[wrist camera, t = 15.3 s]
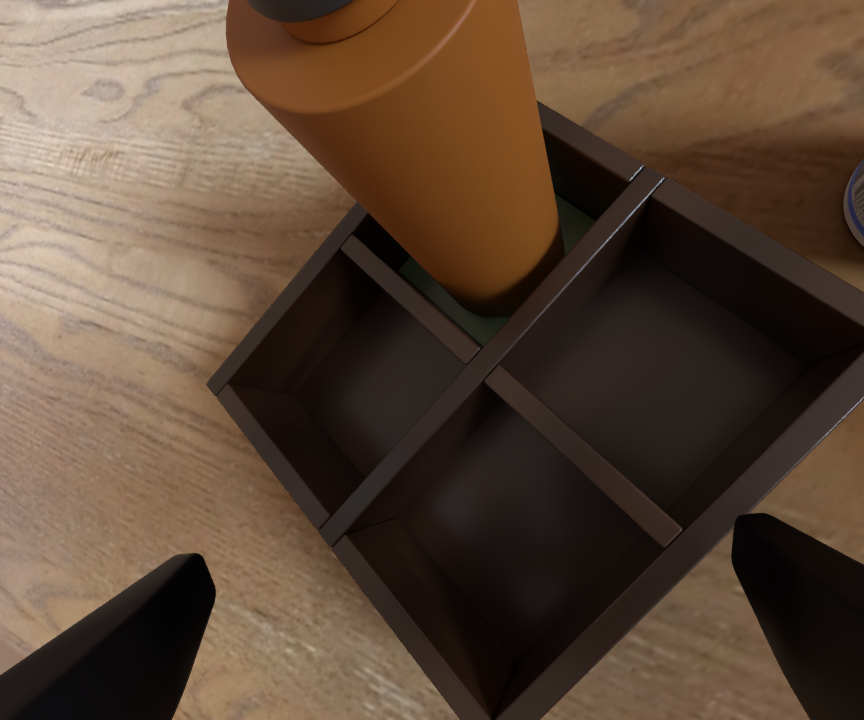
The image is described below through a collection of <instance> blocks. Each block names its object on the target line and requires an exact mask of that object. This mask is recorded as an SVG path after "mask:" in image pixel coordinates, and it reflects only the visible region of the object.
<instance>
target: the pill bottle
mask: <svg viewBox="0 0 864 720" xmlns="http://www.w3.org/2000/svg"><path fill="white" fill-rule="evenodd" d="M843 207H844V216H845V219H846V222H847V224H848V226H849V228H850V230H851V232H852V234H853V235H854V237H855V238H856V239H857V240H858V242H859V243H860V244H861V245H862V246H863V247H864V159H863V160H862V161H861V163H860V164H859V165H858V167H857V168H856V169H855V171H854V172H853V174H852V176H851V178H850V180H849V182H848V185H847V188H846V191H845V195H844V204H843Z"/></svg>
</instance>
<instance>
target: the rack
mask: <svg viewBox="0 0 864 720" xmlns="http://www.w3.org/2000/svg"><path fill="white" fill-rule="evenodd" d="M536 101H537V100H536ZM537 106H538V112H539V117H540V122H541V127H542V132H543V138H544V143H545V148H546V153H547V158H548V163H549V169H550V174H551V179H552V184H553V189H554V195H555V200H556V205H557V210H558V215H559V221H560V226H561V231H562V236H563V242H564V258H563V259H562V260H561V261H560V262H559V263H558V264H557V265H556V266H555V268H554V269H553V270H552V271H551V272H550V273H549V274H548V275H547V277H546V278H545V279H544V280H543V281H542V282H541V283H540V284H539V285H538V287H537V288H536V289H535V290H534V291H533V292H532V293H531V294H530V295H529V297H528V298H527V299H526V300H525V301H524V302H523V303H522V304H521V306H520V307H519V308H518V309H517V310H516V311H515V312H514V313H513V314H512V316H507V317H496V318H494V317H485V316H481V315H477V314H475V313H472V312H470V311H468V310H466V309H465V308H463V307H462V306H461V305H459V304H458V303H457V302H456V301H455V300H454V299H453V298H452V297H451V296H450V295H449V294H448V293H447V292H446V291H445V290H444V289H443V288H442V287H441V286H440V284H439V283H438V282H437V281H436V280H435V279H434V278H433V277H432V276H431V275H430V274H429V273H428V272H427V271H426V270H425V269H424V268H423V267H422V266H421V265H420V264H419V263H418V262H417V261H416V260H415V259H414V258H413V257H412V256H411V255H410V254H409V253H408V252H407V251H406V250H405V249H404V248H403V247H402V246H401V245H400V244H399V243H398V242H397V241H396V240H395V239H394V238H393V237H392V236H391V235H390V234H389V233H388V232H387V231H386V230H385V229H384V228H383V227H382V226H381V225H380V224H379V223H378V222H377V221H376V220H375V219H374V218H373V217H372V216H371V215H370V214H369V213H368V212H367V211H366V210H365V209H364V208H363V207H362V206H361V205H360V204H359V203H358V202H356V204H355V205H354V206H353V207H352V209H351V210H350V211H349V212H348V213H347V215H346V216H345V217H344V218H343V219H342V221H341V222H340V223H339V224H338V225H337V227H336V228H335V229H334V230H333V231H332V233H331V234H330V235H329V236H328V237H327V239H326V240H325V241H324V242H323V243H322V245H321V246H320V247H319V248H318V250H317V251H316V252H315V253H314V254H313V256H312V257H311V258H310V259H309V260H308V262H307V263H306V264H305V265H304V266H303V268H302V269H301V270H300V271H299V272H298V274H297V275H296V276H295V277H294V278H293V280H292V281H291V282H290V283H289V284H288V286H287V287H286V288H285V289H284V290H283V292H282V293H281V294H280V295H279V297H278V298H277V299H276V300H275V301H274V303H273V304H272V305H271V306H270V307H269V309H268V310H267V311H266V312H265V313H264V315H263V316H262V317H261V318H260V319H259V321H258V322H257V323H256V324H255V325H254V327H253V328H252V329H251V330H250V331H249V333H248V334H247V335H246V336H245V337H244V339H243V340H242V341H241V342H240V344H239V345H238V346H237V347H236V348H235V350H234V351H233V352H232V353H231V354H230V356H229V357H228V358H227V359H226V360H225V362H224V363H223V364H222V365H221V366H220V368H219V369H218V370H217V371H216V372H215V374H214V375H213V376H212V377H211V378H210V380H209V381H208V382H207V383H206V385H207V386H208V388H209V389H210V390H211V392H212V393H213V394H214V395H215V396H217V399H218V400H219V402H220V403H221V404H222V406H223V407H224V408H225V409H226V411H227V412H228V413H229V415H230V416H231V417H232V419H233V420H234V421H235V423H236V424H237V425H238V427H239V428H240V429H241V431H242V432H243V433H244V435H245V436H246V437H247V439H248V440H249V441H250V442H251V444H252V445H253V446H254V448H255V449H256V450H257V452H258V453H259V454H260V456H261V457H262V458H263V460H264V461H265V462H266V464H267V465H268V466H269V468H270V469H271V470H272V472H273V473H274V474H275V476H276V477H277V478H278V479H279V481H280V482H281V483H282V485H283V486H284V487H285V489H286V490H287V491H288V493H289V494H290V495H291V497H292V498H293V499H294V501H295V502H296V503H297V505H298V506H299V507H300V509H301V510H302V511H303V513H304V514H305V515H306V516H307V518H308V519H309V520H310V522H311V523H312V524H313V526H314V527H315V528H316V529H317V530H319V534H320V535H321V536H322V538H323V539H324V540H325V542H326V543H327V544H328V546H329V547H331V548H332V547H333V548H332V551H333V552H334V554H335V555H336V556H337V558H338V559H339V560H340V562H341V563H342V564H343V566H344V567H345V568H346V570H347V571H348V572H349V573H350V575H351V576H352V577H353V579H354V580H355V581H356V583H357V584H358V585H359V587H360V588H361V589H362V591H363V592H364V593H365V595H366V596H367V597H368V599H369V600H370V601H371V603H372V604H373V605H374V606H375V608H376V609H377V610H378V612H379V613H380V614H381V616H382V617H383V618H384V620H385V621H386V622H387V624H388V625H389V626H390V628H391V629H392V630H393V632H394V633H395V634H396V636H397V637H398V638H399V640H400V641H401V642H402V643H403V645H404V646H405V647H406V649H407V650H408V651H409V653H410V654H411V655H412V657H413V658H414V659H415V661H416V662H417V663H418V665H419V666H420V667H421V669H422V670H423V671H424V673H425V674H426V675H427V677H428V678H429V679H430V680H431V682H432V683H433V684H434V686H435V687H436V688H437V690H438V691H439V692H440V694H441V695H442V696H443V698H444V699H445V700H446V702H447V703H448V704H449V706H450V707H451V708H452V710H453V711H454V712H455V714H456V715H457V716H458V717H459V719H460V720H540V719H541V718H542V717H543V716H544V715H545V714H546V713H547V712H548V711H549V710H550V709H551V708H552V707H553V706H554V705H555V704H556V703H557V702H558V701H559V700H560V699H561V698H562V697H563V696H564V695H565V694H566V693H567V692H568V691H569V690H570V689H571V688H572V687H574V686H575V685H576V684H577V683H578V682H579V681H580V680H581V679H582V678H583V677H584V676H585V675H586V674H587V673H588V672H589V671H590V670H591V669H592V668H593V667H594V666H595V665H596V664H597V663H598V662H599V661H600V660H601V659H602V658H603V657H604V656H605V655H606V654H607V653H608V652H609V651H610V650H611V649H612V648H613V647H614V646H615V645H616V644H617V643H618V642H619V641H620V640H621V639H622V638H623V637H624V636H625V635H626V634H627V633H628V632H629V631H630V630H631V629H632V628H633V627H634V626H635V625H636V624H637V623H638V622H639V621H640V620H641V619H642V618H643V617H644V616H645V615H646V614H647V613H648V612H649V611H650V610H651V609H652V608H653V607H654V606H656V605H657V604H658V603H659V602H660V601H661V600H662V599H663V598H664V597H665V596H666V595H667V594H668V593H669V592H670V591H671V590H672V589H673V588H674V587H675V586H676V585H677V584H678V583H679V582H680V581H681V580H682V579H683V578H684V577H685V576H686V575H687V574H688V573H689V572H690V571H691V570H692V569H693V568H694V567H695V566H696V565H697V564H698V563H699V562H700V561H701V560H702V559H703V558H704V557H705V556H706V555H707V554H708V553H709V552H710V551H711V550H712V549H713V548H714V547H715V546H716V545H717V544H718V543H719V542H720V541H721V540H722V539H723V538H724V537H725V536H726V535H727V534H728V533H729V532H730V531H731V530H732V529H733V528H734V523H735V520H736V518H737V517H738V516H739V515H742V514H749V513H750V512H751V511H752V510H753V509H754V508H755V507H756V506H757V505H758V504H759V503H760V502H761V501H762V500H763V499H764V498H765V497H766V496H767V495H768V494H769V493H770V492H771V491H772V490H773V489H774V488H775V487H776V486H777V485H778V484H779V483H780V482H781V481H782V480H783V479H784V478H785V477H786V476H787V475H788V474H789V473H790V472H791V471H792V470H793V469H794V468H795V467H796V466H797V465H798V464H799V463H800V462H801V461H802V460H803V459H804V458H805V457H806V456H807V455H808V454H809V453H810V452H811V451H812V450H813V449H814V448H815V447H816V446H817V445H818V444H820V443H821V442H822V441H823V440H824V439H825V438H826V437H827V436H828V435H829V434H830V433H831V432H832V431H833V430H834V429H835V428H836V427H837V426H838V425H839V424H840V423H841V422H842V421H843V420H844V419H845V418H846V417H847V416H848V415H849V414H850V413H851V412H852V411H853V410H854V409H855V408H856V407H857V406H858V405H859V404H860V403H861V402H862V401H863V400H864V292H862V291H860V290H859V289H857V288H855V287H854V286H852V285H850V284H848V283H847V282H845V281H843V280H842V279H840V278H838V277H837V276H835V275H833V274H831V273H830V272H828V271H826V270H825V269H823V268H821V267H820V266H818V265H816V264H814V263H813V262H811V261H809V260H808V259H806V258H804V257H803V256H801V255H799V254H797V253H796V252H794V251H792V250H791V249H789V248H787V247H786V246H784V245H782V244H781V243H779V242H777V241H775V240H774V239H772V238H770V237H769V236H767V235H765V234H764V233H762V232H760V231H758V230H757V229H755V228H753V227H752V226H750V225H748V224H747V223H745V222H743V221H741V220H740V219H738V218H736V217H735V216H733V215H731V214H730V213H728V212H726V211H724V210H723V209H721V208H719V207H718V206H716V205H714V204H713V203H711V202H709V201H708V200H706V199H704V198H702V197H701V196H699V195H697V194H696V193H694V192H692V191H691V190H689V189H687V188H685V187H684V186H682V185H680V184H679V183H677V182H675V181H674V180H672V179H670V178H668V177H667V178H666V177H665V176H664V175H662V174H661V173H659V172H657V171H656V170H654V169H652V168H650V167H649V166H646V167H645V165H644V164H643V163H642V162H640V161H639V160H637V159H635V158H633V157H632V156H630V155H628V154H627V153H625V152H623V151H622V150H620V149H618V148H617V147H615V146H613V145H611V144H610V143H608V142H606V141H605V140H603V139H601V138H600V137H598V136H596V135H594V134H593V133H591V132H589V131H588V130H586V129H584V128H583V127H581V126H579V125H578V124H576V123H574V122H572V121H571V120H569V119H567V118H566V117H564V116H562V115H561V114H559V113H557V112H555V111H554V110H552V109H550V108H549V107H547V106H545V105H544V104H542V103H540V102H539V101H537Z"/></svg>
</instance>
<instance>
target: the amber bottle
mask: <svg viewBox="0 0 864 720" xmlns="http://www.w3.org/2000/svg"><path fill="white" fill-rule="evenodd" d="M226 39H227V48H228V52H229V56H230V60H231V63H232V65H233V67H234V70H235V72H236V74H237V76H238V78H239V79H240V81H241V82H242V84H243V85H244V87H245V88H246V89H247V90H248V91H249V92H250V93H251V94H252V95H253V96H254V97H255V98H256V99H257V100H258V101H259V102H260V103H261V104H262V105H263V106H264V107H265V108H266V109H267V110H268V111H269V112H270V113H271V114H272V116H273V117H274V118H275V119H276V120H277V121H278V122H279V123H280V124H281V125H282V126H283V127H284V128H285V129H286V130H287V131H288V132H289V133H290V134H291V135H292V136H293V137H294V138H295V139H296V140H297V141H298V142H299V143H300V144H301V145H302V146H303V147H304V148H305V149H306V150H307V151H308V152H309V153H310V154H311V155H312V156H313V157H314V158H315V159H316V160H317V161H318V162H319V163H320V164H321V165H322V166H323V167H324V168H325V169H326V170H327V171H328V172H329V173H330V174H331V175H332V176H333V177H334V178H335V179H336V180H337V181H338V182H339V183H340V184H341V185H342V186H343V187H344V188H345V189H346V190H347V191H348V192H349V193H350V194H351V195H352V196H353V197H354V198H355V199H356V201H357V202H358V203H359V204H360V205H361V206H362V207H363V208H364V209H365V210H366V211H367V212H368V213H369V214H370V215H371V216H372V217H373V218H374V219H375V220H376V221H377V222H378V223H379V224H380V225H381V226H382V227H383V228H384V229H385V230H386V231H387V232H388V233H389V234H390V235H391V236H392V237H393V238H394V239H395V240H396V241H397V242H398V243H399V244H400V245H401V246H402V247H403V248H404V249H405V250H406V251H407V252H408V253H409V254H410V255H411V256H412V257H413V258H414V259H415V260H416V261H417V262H418V263H419V264H420V265H421V266H422V267H423V268H424V269H425V270H426V271H427V272H428V273H429V274H430V275H431V276H432V277H433V278H434V279H435V280H436V281H437V282H438V283H439V284H440V286H441V287H442V288H443V289H444V290H445V291H446V292H447V293H448V294H449V295H450V296H451V297H452V298H453V299H454V300H455V301H456V302H457V303H458V304H459V305H461V306H462V307H463V308H465V309H466V310H468V311H470V312H472V313H475V314H477V315H481V316H485V317H494V318H496V317H507V316H512V314H513V313H514V312H515V311H516V310H517V309H518V308H519V307H520V306H521V304H522V303H523V302H524V301H525V300H526V299H527V298H528V297H529V295H530V294H531V293H532V292H533V291H534V290H535V289H536V288H537V287H538V285H539V284H540V283H541V282H542V281H543V280H544V279H545V278H546V277H547V275H548V274H549V273H550V272H551V271H552V270H553V269H554V268H555V266H556V265H557V264H558V263H559V262H560V261H561V260H562V259H563V258H564V242H563V236H562V231H561V226H560V221H559V215H558V210H557V205H556V200H555V195H554V189H553V184H552V179H551V174H550V169H549V163H548V158H547V153H546V148H545V143H544V138H543V132H542V127H541V122H540V117H539V112H538V106H537V101H536V96H535V91H534V86H533V80H532V75H531V70H530V65H529V60H528V54H527V49H526V44H525V39H524V34H523V28H522V23H521V18H520V13H519V8H518V3H517V0H229V4H228V10H227V17H226Z"/></svg>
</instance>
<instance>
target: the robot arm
mask: <svg viewBox="0 0 864 720" xmlns="http://www.w3.org/2000/svg"><path fill="white" fill-rule="evenodd" d="M731 557H732V564H733V567H734V570H735V573H736V575H737V577H738V579H739V581H740V583H741V586H742V588H743V590H744V592H745V594H746V596H747V598H748V600H749V603H750V605H751V607H752V609H753V611H754V613H755V615H756V617H757V620H758V622H759V624H760V626H761V628H762V630H763V632H764V634H765V637H766V639H767V641H768V643H769V645H770V647H771V649H772V652H773V654H774V656H775V658H776V660H777V662H778V664H779V666H780V668H781V670H782V672H783V674H784V675H785V677H786V679H787V681H788V683H789V684H790V686H791V688H792V690H793V691H794V693H795V695H796V696H797V698H798V700H799V702H800V703H801V705H802V707H803V708H804V710H805V712H806V713H807V715H808V717H809V718H810V720H864V565H863V564H861V563H859V562H858V561H856V560H854V559H852V558H850V557H848V556H846V555H844V554H843V553H841V552H839V551H837V550H835V549H833V548H831V547H829V546H828V545H826V544H824V543H822V542H820V541H818V540H816V539H814V538H813V537H811V536H809V535H807V534H805V533H803V532H801V531H799V530H798V529H796V528H794V527H792V526H790V525H788V524H786V523H784V522H783V521H781V520H779V519H777V518H775V517H773V516H771V515H769V514H766V513H755V514H742V515H739V516H738V517H737V518H736V520H735V523H734V533H733V543H732V554H731ZM215 597H216V589H215V585H214V582H213V580H212V577H211V575H210V572H209V570H208V568H207V565H206V563H205V560H204V558H203V557H202V556H201V555H200V554H198V553H189V554H179V555H175V556H173V557H172V558H170V559H169V560H167V561H166V562H164V563H163V564H162V565H160V566H159V567H157V568H156V569H154V570H153V571H151V572H150V573H148V574H147V575H146V576H144V577H143V578H141V579H140V580H138V581H137V582H135V583H134V584H132V585H131V586H130V587H128V588H127V589H125V590H124V591H122V592H121V593H119V594H118V595H116V596H115V597H114V598H112V599H111V600H109V601H108V602H106V603H105V604H103V605H102V606H100V607H99V608H98V609H96V610H95V611H93V612H92V613H90V614H89V615H87V616H86V617H84V618H83V619H81V620H80V621H79V622H77V623H76V624H74V625H73V626H71V627H70V628H68V629H67V630H65V631H64V632H63V633H61V634H60V635H58V636H57V637H55V638H54V639H52V640H51V641H49V642H48V643H47V644H45V645H44V646H42V647H41V648H39V649H38V650H36V651H35V652H33V653H32V654H31V655H29V656H28V657H26V658H25V659H23V660H22V661H20V662H19V663H17V664H16V665H15V666H13V667H12V668H10V669H9V670H7V671H6V672H4V673H3V674H2V675H0V720H172V718H173V716H174V714H175V711H176V709H177V707H178V704H179V702H180V699H181V697H182V695H183V692H184V689H185V687H186V684H187V681H188V679H189V676H190V673H191V670H192V667H193V664H194V661H195V658H196V655H197V652H198V650H199V647H200V644H201V641H202V638H203V635H204V632H205V629H206V626H207V623H208V620H209V617H210V614H211V611H212V609H213V606H214V602H215Z"/></svg>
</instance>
